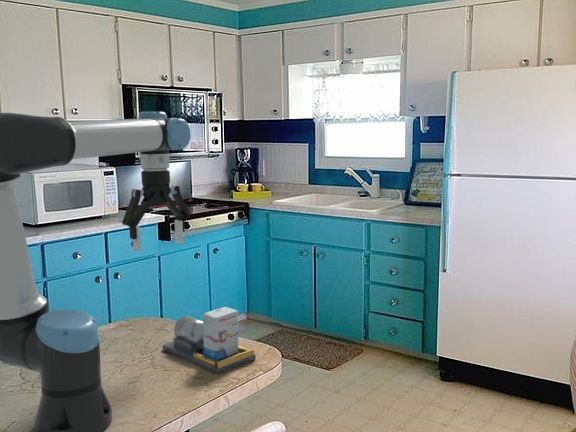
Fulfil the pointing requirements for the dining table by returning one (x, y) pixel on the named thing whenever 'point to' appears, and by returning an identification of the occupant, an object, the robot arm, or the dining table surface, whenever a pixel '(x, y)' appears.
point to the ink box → (220, 333)
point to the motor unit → (202, 347)
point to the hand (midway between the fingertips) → (158, 247)
